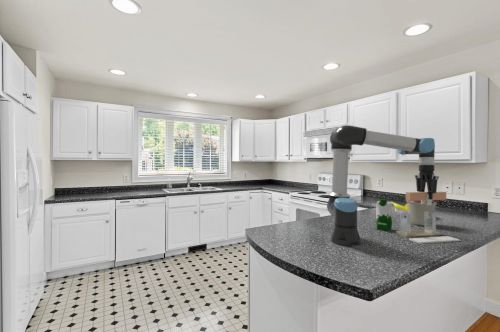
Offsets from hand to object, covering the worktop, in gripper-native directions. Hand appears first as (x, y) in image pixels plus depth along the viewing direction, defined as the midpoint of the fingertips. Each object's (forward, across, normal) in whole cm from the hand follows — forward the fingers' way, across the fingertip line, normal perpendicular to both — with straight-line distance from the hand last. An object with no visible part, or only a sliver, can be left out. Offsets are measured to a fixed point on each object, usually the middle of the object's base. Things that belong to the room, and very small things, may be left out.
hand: (426, 204), depth 148 cm
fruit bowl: (+20, +56, -47) cm, 75 cm away
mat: (+19, -6, +1) cm, 20 cm away
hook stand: (+19, +7, -1) cm, 21 cm away
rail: (-3, 0, 0) cm, 3 cm away
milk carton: (+20, +21, +10) cm, 31 cm away
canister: (+20, +28, -27) cm, 44 cm away
